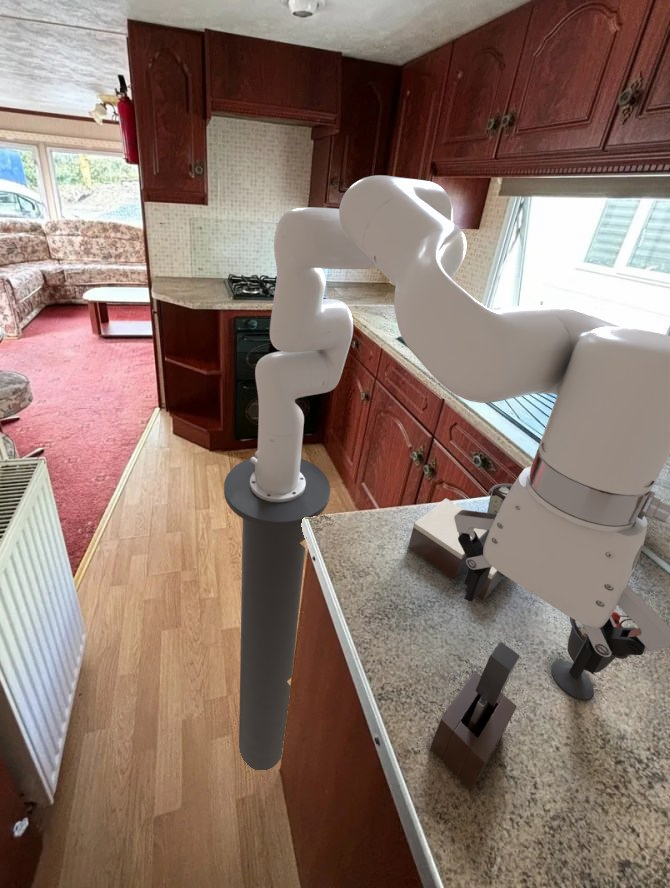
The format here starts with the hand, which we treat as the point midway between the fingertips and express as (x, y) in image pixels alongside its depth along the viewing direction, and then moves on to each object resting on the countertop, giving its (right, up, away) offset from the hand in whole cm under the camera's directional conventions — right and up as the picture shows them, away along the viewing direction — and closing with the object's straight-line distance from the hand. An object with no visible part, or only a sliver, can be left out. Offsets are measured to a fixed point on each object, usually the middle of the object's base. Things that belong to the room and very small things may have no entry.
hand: (521, 627), depth 39 cm
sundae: (+16, -16, +16) cm, 27 cm away
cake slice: (+11, -9, +30) cm, 33 cm away
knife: (-2, -18, +8) cm, 20 cm away
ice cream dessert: (+21, -6, +39) cm, 45 cm away
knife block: (-2, -18, +8) cm, 20 cm away
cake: (+6, -6, +35) cm, 36 cm away
